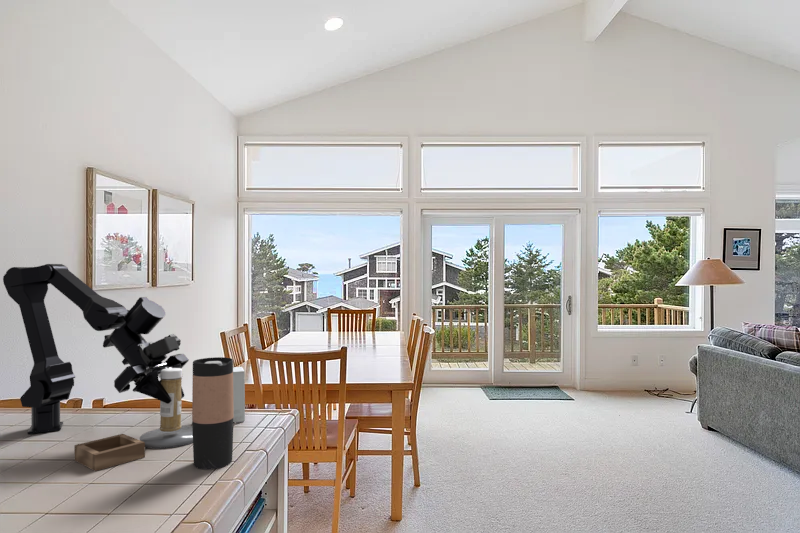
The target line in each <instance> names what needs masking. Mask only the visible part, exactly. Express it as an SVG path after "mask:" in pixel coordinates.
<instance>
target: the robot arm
mask: <svg viewBox="0 0 800 533" xmlns="http://www.w3.org/2000/svg"><path fill="white" fill-rule="evenodd" d="M2 280H3V281H2V282H3V285H4V288H5V290H6V291H7V292H6V293H7V295H8V296H9V297H10V298H11V300H13V301H14V302H15V303H16V304H17V305H18V307H19V309H20V315H21V317H22V321H23V325H24V328H25V329H24V330H25V333H26V336H27V341H28V344H29V348H30V352H31V356H32V360H33V365H32V369H31V371H30V375H29V385H30V386H29V387H28V388H27V390H26V391H25V392H24V393H23V394H22V395H21V397H20V398H19V400H20V403H21V407H23V408H31V414H30V415H31V422H30V423H31V425H30V427H29V429H28V430H27V434H30V435H31V434H38V433H48V432H55V431H61V430H62V427H63V425H64V421H61V402H63V401H65V400H69V398H70V395H71V392H72V389H73V387H74V386H75V379H76V375H75V374H74V371H73V365H72V363H71V362H70V361H66V362H64V361H63V360H62V359H61V358H60V356H59V354H58V350H57V346H56V343H55V338H54V334H53V331H52V327H51V323H50V319H49V315H48V311H47V307H46V304H45V298H46V297H47V293H48V292H49V291H48V290H49V285H51V286H53V287H54V288H55V289H56V290H57V291H59V292H60V293H61V294H62V295H63V296H65V297H66V298H67V299H68V300H70V302H72V303H73V304H75V305H76V306H77V307H78V308H79V309H80V310H81V311H82V314H83V318H84V320H85V322H87V324H89V326H90V327H91V328H92V329H93V330H95V331H98V332H104V331H110V330H113V331H112V332H111V333H110V334H105V335H104V341H103V343H102V347H103V348H104V349H105V348H109V347H115V349H116V350H117V351H118V352H119V354H120V355H121V356H122V357H123V359H122V361H121V363H122V364H123V365H124V366H126V365H129V366H126V367H125V368H124V369H123V371H122V372H121V373H119V375H118V376H117V377H116V378H115V379H114V380H113V381H114V382H113V383H114V384H113V386H114V388H115V390H117V392H118V394H121V393H125V392H128V391H129V390H130V389H131V385H130V383H132V382H134V383H133V384H134V385H135V386H134V388H133V389H132V392H133V393H136V392H137V393H140V394H142V395H145V396H148V397H151V398H154V399H156V400H158V401H162V402H165V403H167V404H169V403H170V402H171V401H172V400H171V398H170V396H169V395H168V393H167V392H166V390H165V389H164V387H163V386H162V384H161V378H160V375H161V370H162V369H167V368H181V369H183V367H184V366H185V365H186V364H187V363H188V362H189V360H190V359H189V358H188V357H187V356H186V355H185V354H184V353H176V354H173V355H170V356H169V357H168V354H170V353H172V352H174V351H175V352H176V351H178V350H180V346H181V340H182V339H180V338H179V337H178V336H177V335H176V334H175V333H172V334H168V336H164V337H163V338H161V339H158V340H156V341H148V342H147V341H146V339H145V338H144V337H143V335H149V334H150V333H151V332H152V331H153V330H154V329H155V327H156V326H157V325H158V324H159V323H160V322H161V321H162V319H163V318H165V316H166V310H165V309H164V308H163V306H162V305H159V304H158V303H157V302H155V301H153V300H150V299H149V298H148V296H141V297H139V298H138V299H137V300H136V302H135V303H134V305H133V306H132V307H131V308H130V309H127V308H126V307H125V306H124V305H123V304H121V303H120V302H117V301H115V300H113V299H111V298H106V297H104V296H102V295H100V294H98V293H97V292H96V291H95V290H93V288H91V287H90V286H89V285H87V284H86V283H85V282H84V281H83V280H82V279H80V278H79V277H78V276H77V275H75V274H74V273H72V271H70V270H69V268H68V267H67V265H65V264H63V263H46V264H43V265H38V266H29V267H28V266H26V267H24V266H14V267H10V268H8V269H7V270H6V273H5V274H4V275H3V277H2ZM163 361H164V362H163ZM181 394H182V396H181V400H182V399H183V398H184V397H185V393H184V390H183V387H182V385H181Z"/></svg>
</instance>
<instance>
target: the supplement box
mask: <svg viewBox="0 0 800 533" xmlns="http://www.w3.org/2000/svg"><path fill="white" fill-rule="evenodd" d="M245 376H246V374H245V369H244V368H243V366H235V367H234V366H233V406H234V417H233V418H234V421H233V422H236V423H243V422H245V420H246V419H245V418H246V416H245V415H246V412H245V411H246V409H245V408H246V405H245V404H246V403H245V402H246V398H245V396H246V394H245V393H246V392H245V391H246V390H245V388H246V387H245V386H246V382H245V381H246V380H245V378H246V377H245Z"/></svg>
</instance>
